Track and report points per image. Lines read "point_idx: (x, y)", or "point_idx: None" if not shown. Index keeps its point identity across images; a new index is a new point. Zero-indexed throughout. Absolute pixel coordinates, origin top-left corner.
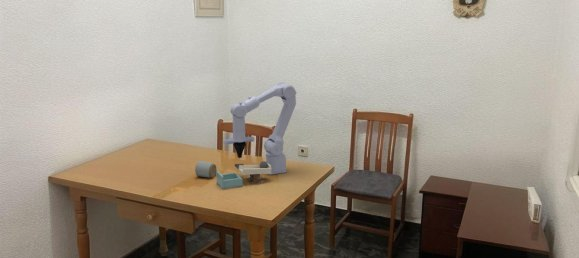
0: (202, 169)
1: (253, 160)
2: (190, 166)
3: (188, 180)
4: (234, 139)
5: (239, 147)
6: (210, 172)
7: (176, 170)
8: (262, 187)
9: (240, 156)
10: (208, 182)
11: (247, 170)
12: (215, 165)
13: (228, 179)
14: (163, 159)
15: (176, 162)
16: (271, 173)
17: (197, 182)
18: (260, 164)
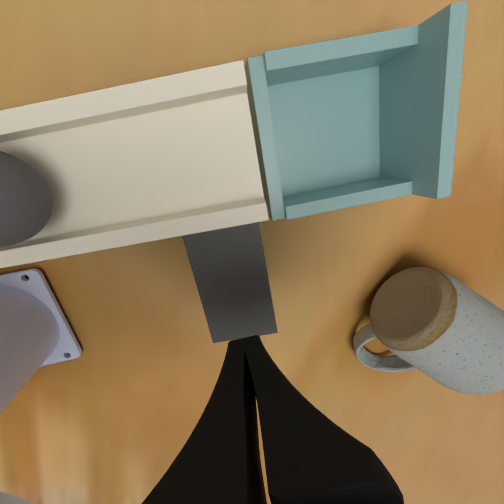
0: (483, 298)
1: (139, 481)
2: (430, 429)
3: (501, 263)
4: None
5: (284, 444)
6: (431, 271)
7: (496, 392)
8: (86, 3)
9: (242, 346)
10: (423, 212)
11: (190, 75)
12: (401, 338)
13: (324, 190)
14: (492, 495)
15: (463, 469)
16: (17, 277)
17: (474, 225)
18: (15, 184)
